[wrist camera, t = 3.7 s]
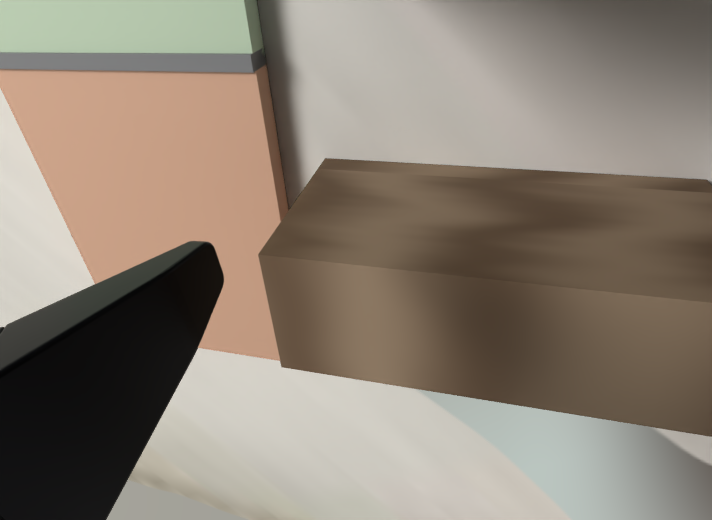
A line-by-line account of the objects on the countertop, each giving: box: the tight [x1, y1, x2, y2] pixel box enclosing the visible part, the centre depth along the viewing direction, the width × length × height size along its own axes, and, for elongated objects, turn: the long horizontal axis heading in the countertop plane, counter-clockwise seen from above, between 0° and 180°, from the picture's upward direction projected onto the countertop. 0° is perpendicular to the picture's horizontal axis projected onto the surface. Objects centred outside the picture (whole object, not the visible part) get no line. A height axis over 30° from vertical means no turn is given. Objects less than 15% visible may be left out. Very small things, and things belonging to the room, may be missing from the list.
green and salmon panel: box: [0, 0, 289, 361], centre depth 18 cm, size 12×32×1 cm, turn 3°
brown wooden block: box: [258, 158, 712, 437], centre depth 17 cm, size 14×6×7 cm, turn 93°
